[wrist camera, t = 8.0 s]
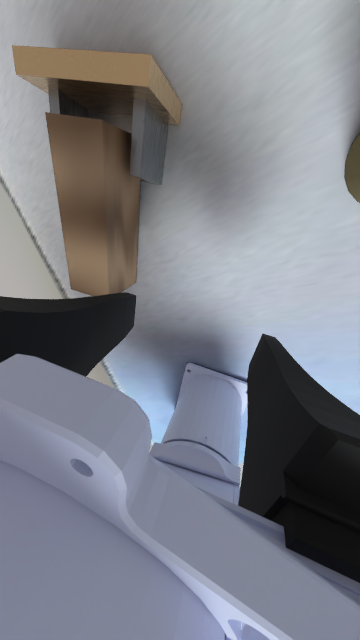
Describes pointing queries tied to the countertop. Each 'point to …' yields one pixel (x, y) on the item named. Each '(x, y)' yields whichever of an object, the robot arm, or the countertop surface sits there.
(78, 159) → the tan rectangular block
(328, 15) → the countertop surface
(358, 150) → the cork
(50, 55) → the bracket
